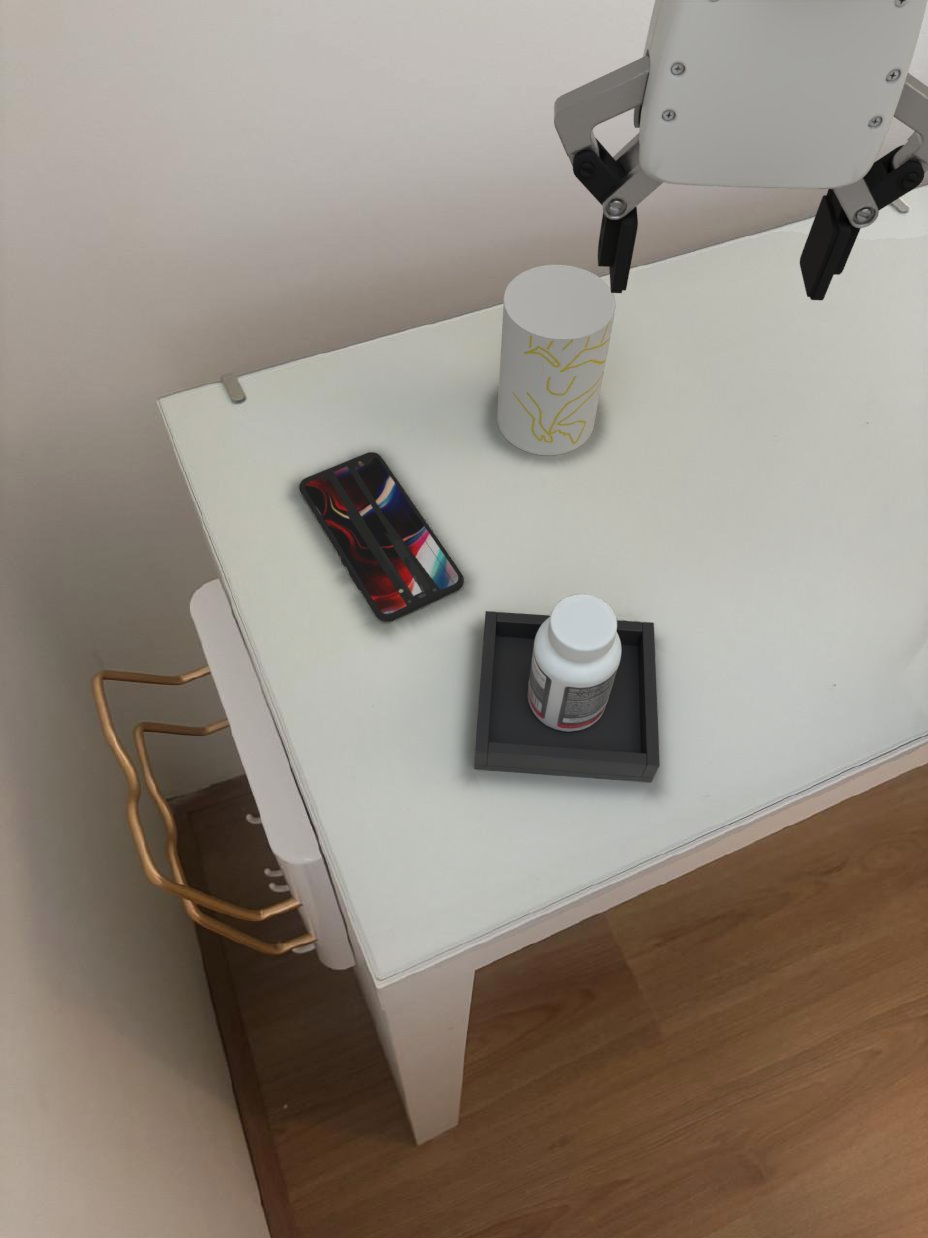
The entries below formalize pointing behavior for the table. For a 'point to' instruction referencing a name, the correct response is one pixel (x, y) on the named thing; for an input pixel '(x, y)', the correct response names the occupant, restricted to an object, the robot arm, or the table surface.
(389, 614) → the smartphone
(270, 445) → the table surface
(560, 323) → the cup
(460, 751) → the table surface
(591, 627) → the pill bottle
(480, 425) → the table surface
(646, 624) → the tray
